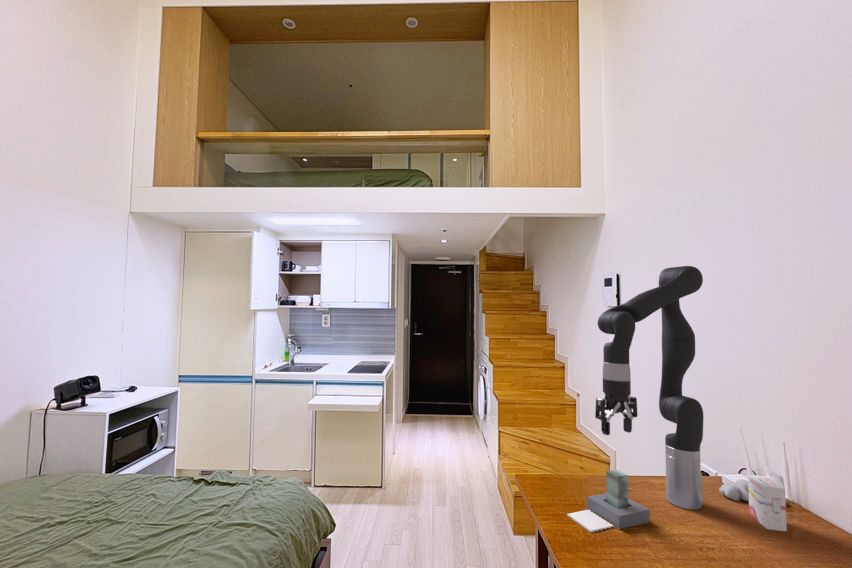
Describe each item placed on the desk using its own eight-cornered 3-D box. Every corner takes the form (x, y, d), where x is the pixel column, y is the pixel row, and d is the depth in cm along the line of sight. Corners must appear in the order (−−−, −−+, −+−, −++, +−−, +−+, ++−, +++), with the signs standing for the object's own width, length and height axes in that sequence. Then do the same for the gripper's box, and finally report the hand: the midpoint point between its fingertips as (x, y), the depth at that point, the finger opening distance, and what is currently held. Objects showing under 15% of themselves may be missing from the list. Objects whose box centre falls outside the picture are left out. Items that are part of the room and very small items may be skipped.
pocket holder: (615, 502, 119) (615, 491, 119) (649, 522, 108) (649, 509, 108) (586, 508, 114) (586, 496, 115) (619, 529, 104) (619, 516, 104)
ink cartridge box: (747, 514, 114) (746, 463, 115) (767, 516, 113) (765, 465, 114) (767, 529, 106) (765, 475, 107) (788, 532, 105) (785, 477, 106)
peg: (616, 510, 114) (616, 469, 115) (628, 517, 110) (627, 474, 111) (606, 513, 112) (606, 471, 113) (617, 520, 109) (617, 476, 110)
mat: (588, 511, 113) (588, 509, 113) (613, 527, 105) (613, 525, 105) (567, 515, 110) (567, 513, 110) (591, 532, 102) (591, 530, 102)
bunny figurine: (711, 479, 130) (753, 474, 130) (713, 494, 129) (755, 489, 130) (735, 492, 120) (780, 486, 121) (737, 508, 120) (782, 503, 121)
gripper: (623, 375, 120) (623, 427, 119) (588, 376, 115) (588, 431, 114) (644, 379, 113) (645, 435, 112) (608, 380, 108) (609, 439, 107)
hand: (616, 433), depth 113 cm, fingers open, 8 cm apart
